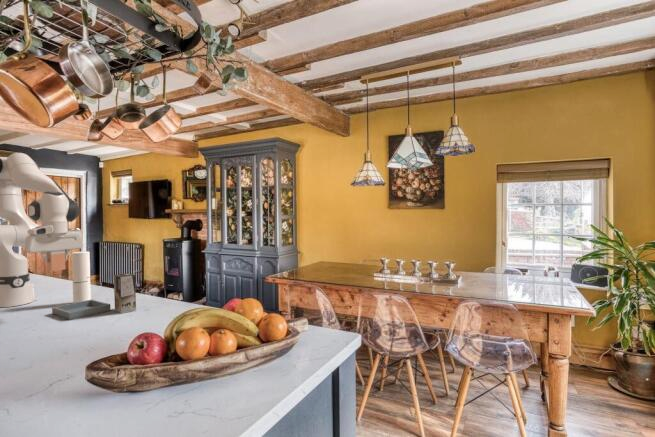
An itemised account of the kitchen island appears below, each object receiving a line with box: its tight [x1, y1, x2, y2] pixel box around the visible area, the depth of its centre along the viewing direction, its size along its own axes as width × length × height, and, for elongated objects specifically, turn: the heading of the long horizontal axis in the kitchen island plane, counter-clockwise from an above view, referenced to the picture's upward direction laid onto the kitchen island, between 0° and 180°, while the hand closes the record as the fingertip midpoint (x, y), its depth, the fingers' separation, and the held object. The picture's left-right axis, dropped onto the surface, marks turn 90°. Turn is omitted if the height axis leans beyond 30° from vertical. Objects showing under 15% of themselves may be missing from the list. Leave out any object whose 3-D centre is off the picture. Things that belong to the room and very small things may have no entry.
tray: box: [51, 299, 111, 321], centre depth 159 cm, size 17×16×3 cm
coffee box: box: [113, 272, 137, 314], centre depth 162 cm, size 9×6×16 cm
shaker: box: [45, 250, 66, 272], centre depth 153 cm, size 5×5×8 cm
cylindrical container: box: [71, 251, 92, 303], centre depth 175 cm, size 7×7×25 cm
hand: (56, 261), depth 153 cm, fingers closed on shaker, 5 cm apart
